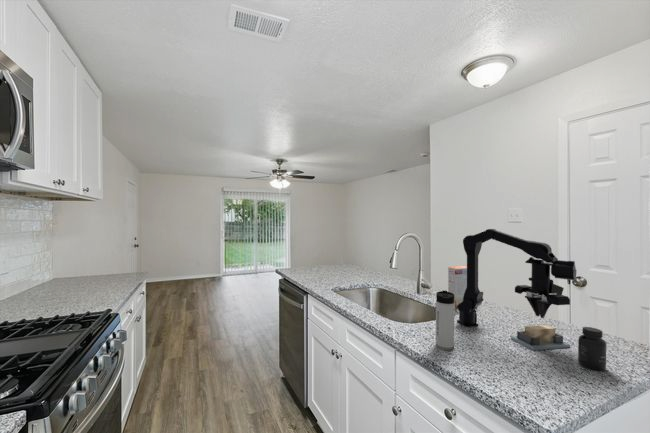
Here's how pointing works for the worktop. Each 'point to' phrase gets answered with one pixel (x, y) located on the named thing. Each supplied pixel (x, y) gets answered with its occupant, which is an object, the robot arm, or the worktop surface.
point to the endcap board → (535, 342)
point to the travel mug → (445, 320)
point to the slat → (541, 332)
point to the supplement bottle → (592, 349)
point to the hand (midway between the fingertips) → (540, 316)
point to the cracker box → (457, 283)
